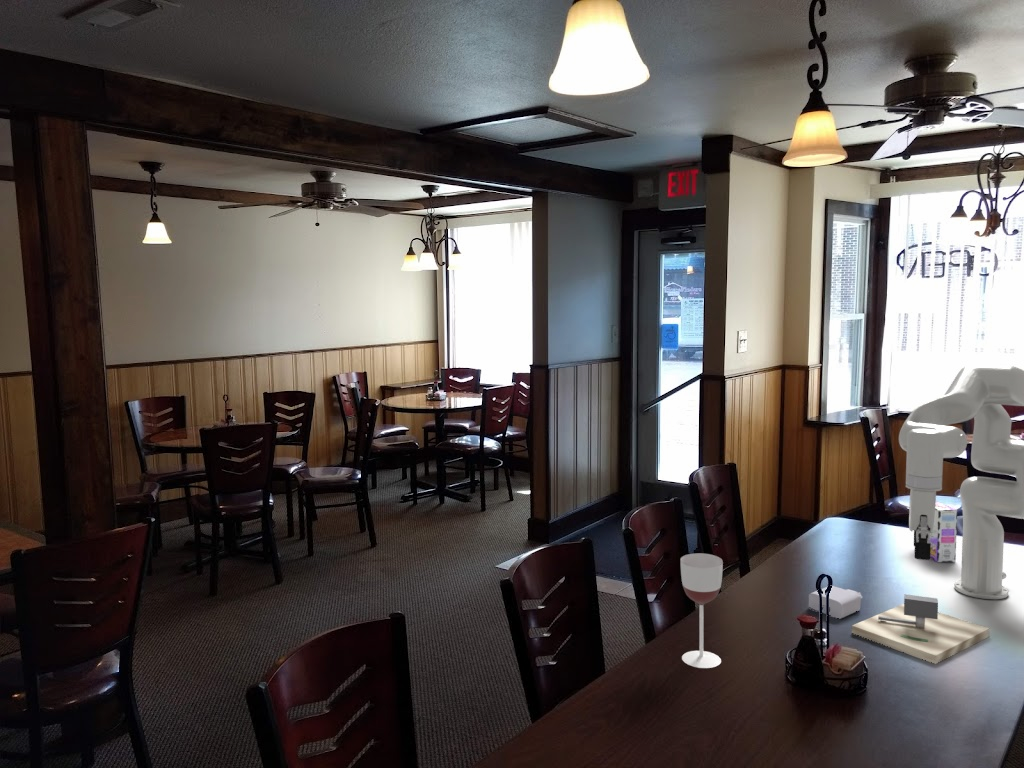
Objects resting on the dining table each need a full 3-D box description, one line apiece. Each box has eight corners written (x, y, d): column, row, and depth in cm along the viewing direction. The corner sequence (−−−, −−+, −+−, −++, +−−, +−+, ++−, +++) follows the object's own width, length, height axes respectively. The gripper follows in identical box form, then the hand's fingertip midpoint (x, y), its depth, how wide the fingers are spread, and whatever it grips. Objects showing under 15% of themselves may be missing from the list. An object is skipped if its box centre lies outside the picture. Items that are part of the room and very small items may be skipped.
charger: (873, 606, 202) (841, 620, 194) (841, 596, 210) (808, 609, 201) (873, 588, 202) (841, 602, 193) (841, 579, 209) (808, 591, 201)
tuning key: (936, 626, 183) (937, 598, 183) (937, 630, 181) (938, 602, 180) (878, 617, 189) (879, 591, 188) (878, 622, 186) (878, 595, 186)
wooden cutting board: (906, 609, 199) (906, 602, 198) (989, 636, 182) (989, 627, 182) (851, 633, 185) (851, 625, 185) (935, 664, 169) (935, 655, 169)
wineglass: (723, 652, 177) (724, 555, 175) (720, 671, 168) (721, 569, 166) (683, 647, 180) (683, 551, 178) (678, 666, 171) (677, 565, 169)
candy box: (956, 562, 233) (958, 509, 231) (937, 563, 233) (938, 510, 231) (932, 548, 247) (934, 498, 245) (913, 548, 247) (915, 498, 245)
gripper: (905, 473, 189) (903, 540, 191) (906, 488, 174) (904, 562, 176) (940, 475, 186) (938, 544, 188) (944, 491, 171) (941, 566, 172)
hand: (921, 552), depth 182 cm, fingers open, 9 cm apart
